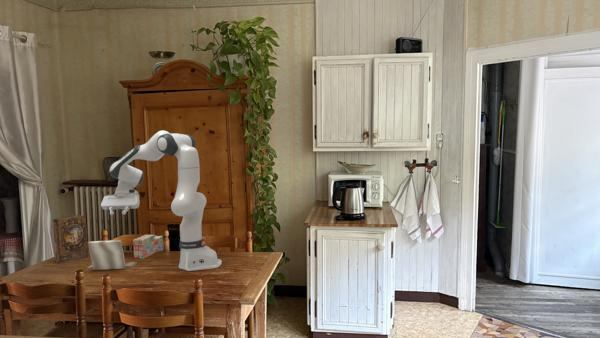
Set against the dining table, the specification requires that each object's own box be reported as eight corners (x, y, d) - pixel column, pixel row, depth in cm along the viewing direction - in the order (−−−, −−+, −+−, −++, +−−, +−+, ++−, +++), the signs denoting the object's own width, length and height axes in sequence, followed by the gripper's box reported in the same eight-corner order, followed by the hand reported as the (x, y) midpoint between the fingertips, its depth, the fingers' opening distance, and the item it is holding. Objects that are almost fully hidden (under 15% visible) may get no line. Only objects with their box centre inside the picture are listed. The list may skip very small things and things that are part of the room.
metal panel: (125, 269, 209) (126, 268, 210) (120, 241, 203) (121, 240, 205) (93, 271, 208) (94, 269, 209) (87, 242, 202) (89, 241, 204)
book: (58, 263, 225) (55, 220, 223) (54, 262, 228) (51, 219, 226) (88, 256, 238) (85, 215, 236) (83, 255, 241) (81, 214, 239)
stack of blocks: (154, 250, 248) (153, 231, 247) (164, 250, 247) (163, 231, 246) (134, 260, 227) (132, 239, 226) (143, 261, 226) (142, 239, 225)
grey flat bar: (138, 264, 217) (138, 261, 217) (134, 268, 211) (133, 265, 211) (92, 266, 216) (92, 263, 215) (87, 270, 209) (86, 267, 209)
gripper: (102, 191, 227) (96, 211, 218) (139, 190, 229) (134, 210, 220) (106, 198, 232) (100, 218, 223) (142, 197, 233) (137, 216, 224)
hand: (117, 214), depth 221 cm, fingers open, 5 cm apart
